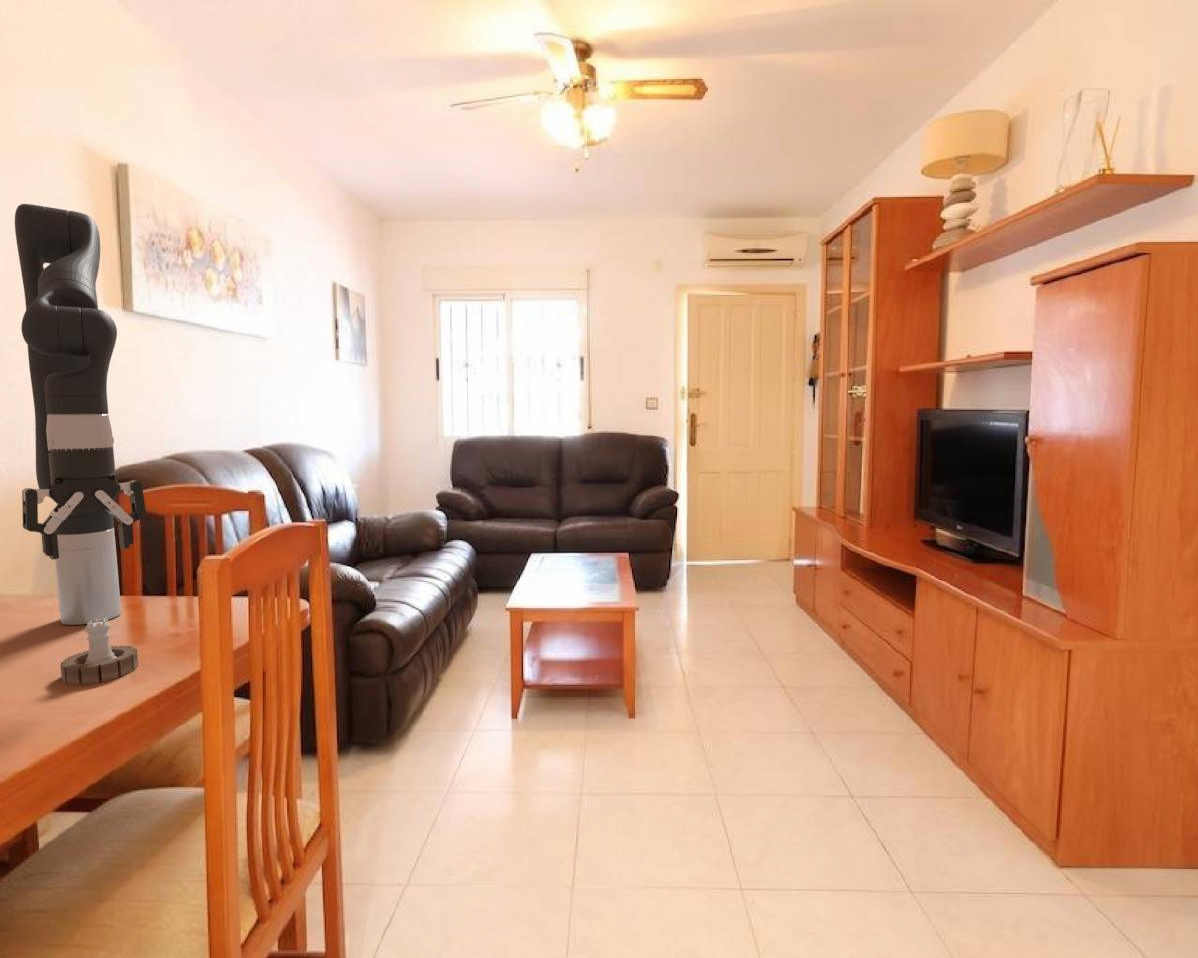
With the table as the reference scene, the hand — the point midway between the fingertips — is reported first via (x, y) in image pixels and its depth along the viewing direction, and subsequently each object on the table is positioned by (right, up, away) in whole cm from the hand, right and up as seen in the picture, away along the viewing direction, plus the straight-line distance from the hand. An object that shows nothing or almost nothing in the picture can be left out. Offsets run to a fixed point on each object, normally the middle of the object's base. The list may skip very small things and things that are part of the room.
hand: (90, 553), depth 96 cm
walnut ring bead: (0, -18, +2) cm, 19 cm away
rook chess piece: (0, -19, +2) cm, 19 cm away
